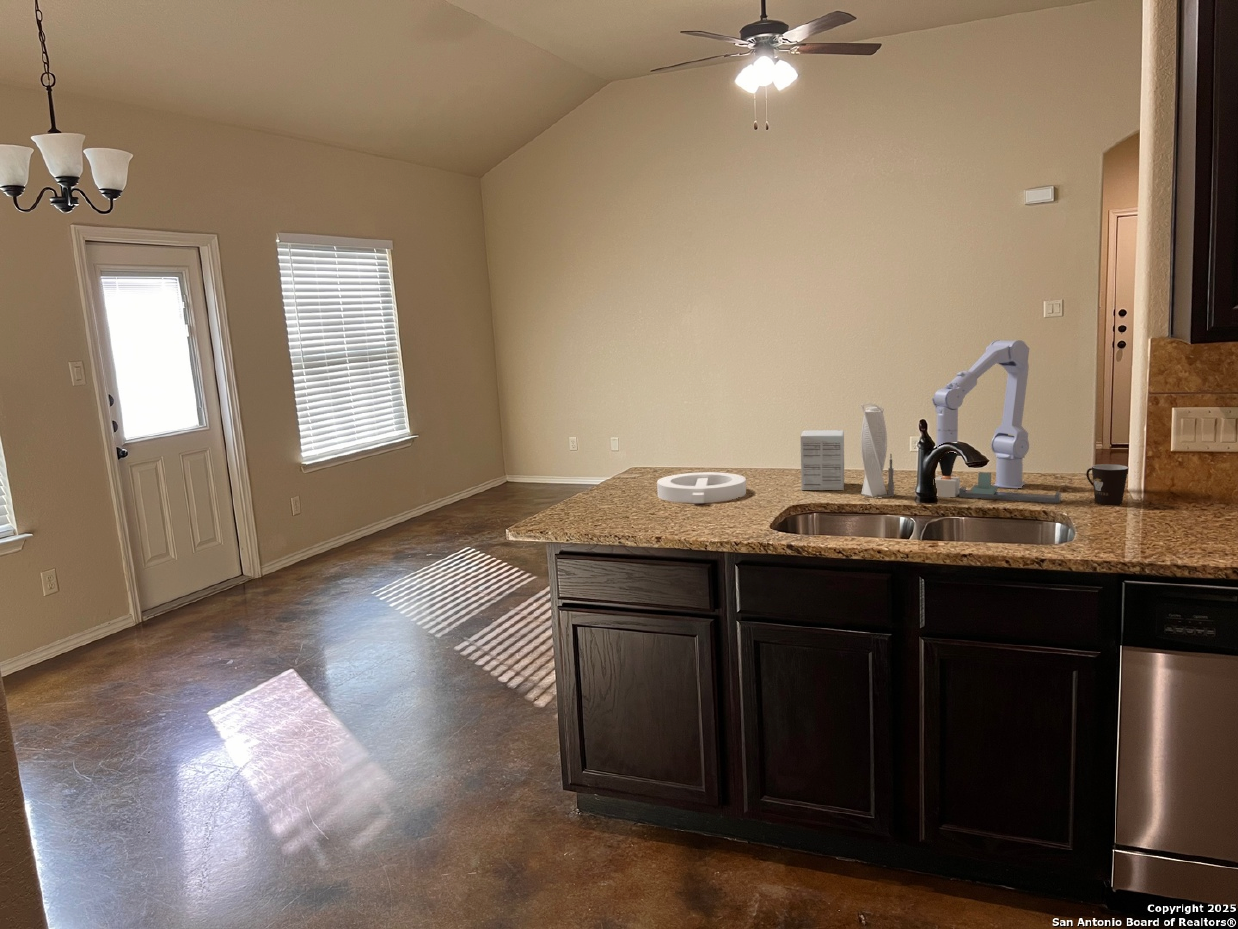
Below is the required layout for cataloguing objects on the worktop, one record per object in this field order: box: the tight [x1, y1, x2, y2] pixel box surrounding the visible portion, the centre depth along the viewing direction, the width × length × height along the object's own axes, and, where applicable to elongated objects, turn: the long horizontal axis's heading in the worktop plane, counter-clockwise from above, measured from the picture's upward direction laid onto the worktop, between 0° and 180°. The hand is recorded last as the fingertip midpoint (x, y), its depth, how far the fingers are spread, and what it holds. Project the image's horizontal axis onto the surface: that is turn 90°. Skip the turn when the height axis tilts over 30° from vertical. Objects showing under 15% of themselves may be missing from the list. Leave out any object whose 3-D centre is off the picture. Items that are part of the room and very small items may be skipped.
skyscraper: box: [860, 402, 896, 498], centre depth 259 cm, size 8×8×28 cm
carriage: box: [970, 471, 999, 494], centre depth 250 cm, size 6×6×5 cm
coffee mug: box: [1085, 463, 1129, 506], centre depth 237 cm, size 12×9×10 cm
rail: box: [958, 486, 1062, 504], centre depth 247 cm, size 4×26×2 cm, turn 57°
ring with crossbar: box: [656, 471, 747, 504], centre depth 277 cm, size 28×28×5 cm
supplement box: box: [799, 429, 845, 491], centre depth 277 cm, size 13×13×18 cm
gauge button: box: [941, 475, 952, 480], centre depth 256 cm, size 2×2×2 cm
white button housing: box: [934, 475, 961, 498], centre depth 256 cm, size 6×6×5 cm
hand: (946, 475), depth 256 cm, fingers closed, pressing on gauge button
